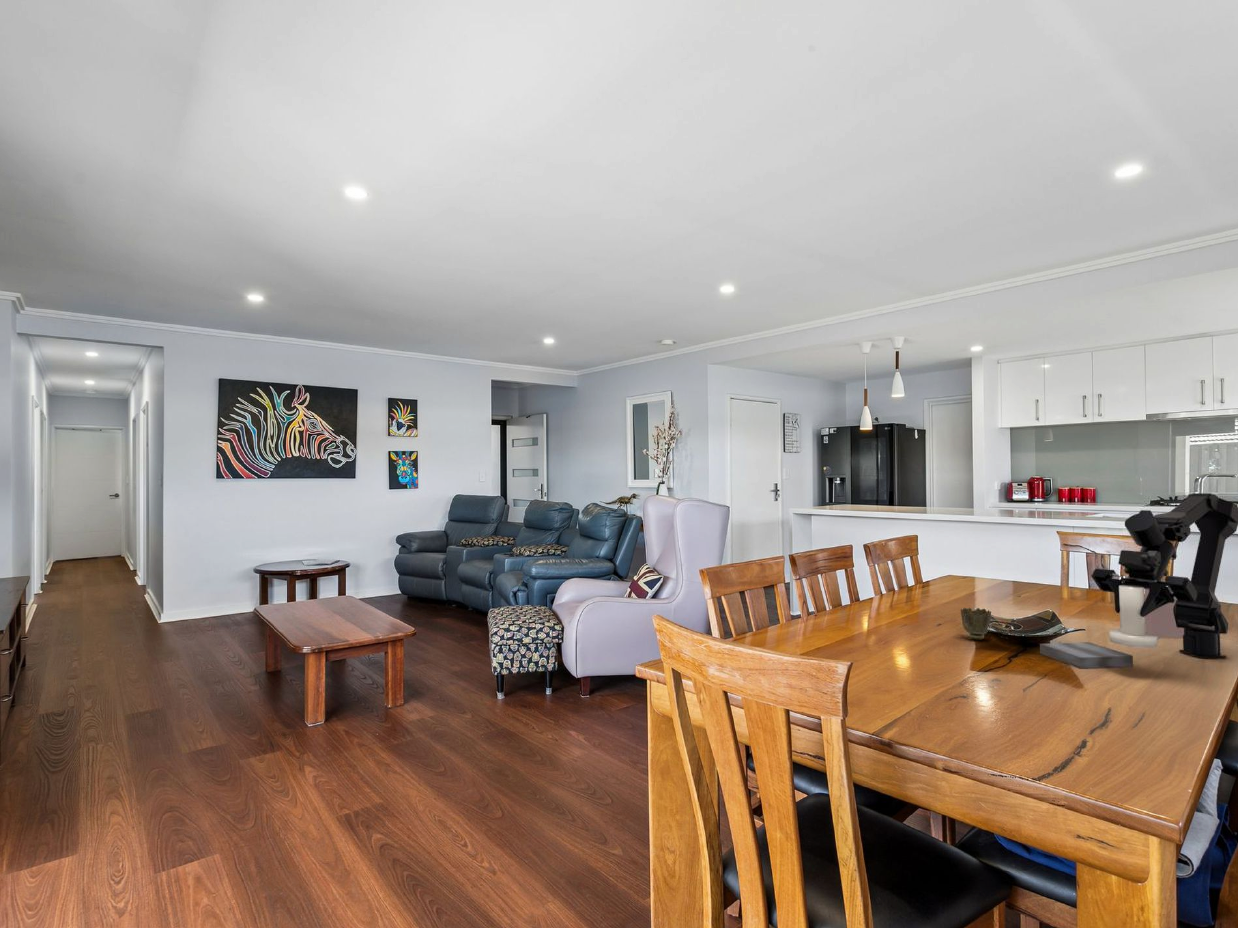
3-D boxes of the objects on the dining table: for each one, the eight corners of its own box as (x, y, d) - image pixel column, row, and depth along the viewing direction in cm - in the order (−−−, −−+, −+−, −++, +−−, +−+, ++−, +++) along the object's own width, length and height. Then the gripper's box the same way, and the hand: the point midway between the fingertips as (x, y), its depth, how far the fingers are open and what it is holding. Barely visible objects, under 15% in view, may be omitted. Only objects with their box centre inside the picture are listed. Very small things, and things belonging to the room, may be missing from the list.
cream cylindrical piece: (1138, 637, 154) (1136, 583, 154) (1167, 647, 145) (1165, 589, 145) (1101, 638, 154) (1099, 583, 154) (1127, 647, 146) (1125, 590, 146)
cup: (962, 641, 180) (961, 611, 180) (959, 635, 187) (959, 606, 187) (993, 643, 177) (993, 613, 178) (989, 637, 184) (989, 608, 184)
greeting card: (1199, 638, 181) (1198, 582, 181) (1198, 643, 175) (1196, 586, 176) (1146, 631, 189) (1144, 578, 189) (1143, 636, 183) (1141, 581, 183)
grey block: (1088, 651, 168) (1088, 641, 168) (1133, 666, 155) (1132, 655, 155) (1040, 653, 167) (1040, 643, 167) (1081, 668, 154) (1080, 657, 154)
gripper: (1094, 534, 160) (1069, 585, 155) (1188, 540, 143) (1164, 597, 138) (1113, 564, 164) (1089, 614, 158) (1207, 573, 147) (1184, 630, 142)
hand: (1128, 613), depth 149 cm, fingers closed on cream cylindrical piece, 4 cm apart
